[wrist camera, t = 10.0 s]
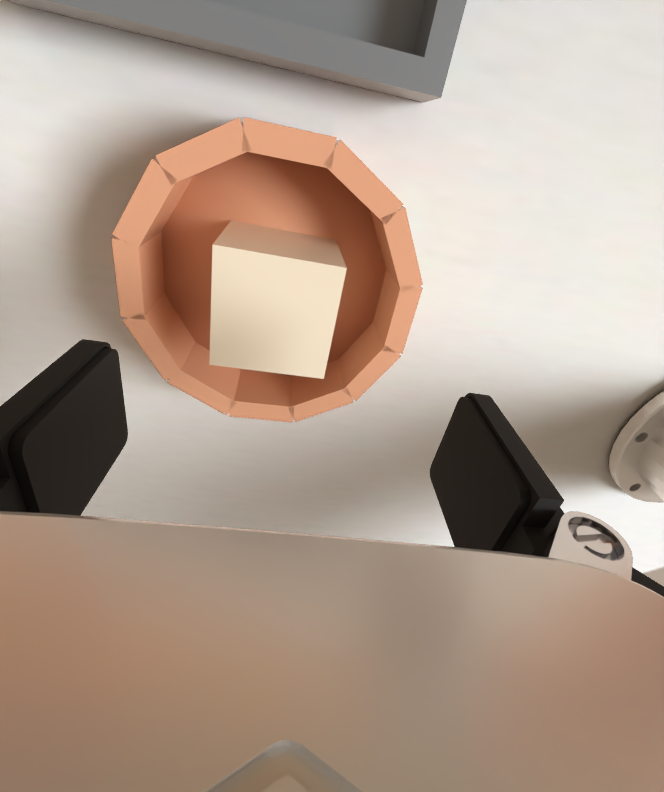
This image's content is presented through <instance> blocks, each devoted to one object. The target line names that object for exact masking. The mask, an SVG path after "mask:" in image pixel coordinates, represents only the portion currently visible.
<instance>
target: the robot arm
mask: <svg viewBox="0 0 664 792" xmlns="http://www.w3.org/2000/svg"><path fill="white" fill-rule="evenodd" d="M127 436H128V430H127V422H126V413H125V405H124V397H123V389H122V381H121V372H120V364H119V356H118V352H117V350H115V349H111V346H110V344H108V343H106V342H99V341H92V340H84V339H83V340H81V341H79V342H78V343H77V344H75V345H74V346H73V347H72V348H71V349H69V350H68V351H67V352H66V353H65V354H63V355H62V356H61V357H60V358H59V359H57V360H56V361H55V362H54V363H52V364H51V365H50V366H49V367H48V368H46V369H45V370H44V371H43V372H42V373H40V374H39V375H38V376H37V377H35V378H34V379H33V380H32V381H31V382H29V383H28V384H27V385H26V386H25V387H23V388H22V389H21V390H20V391H18V392H17V393H16V394H15V395H14V396H12V397H11V398H10V399H9V400H8V401H6V402H5V403H4V404H3V405H1V406H0V792H664V587H663V586H662V585H660V584H658V583H657V582H655V581H653V580H652V579H650V578H649V577H647V576H645V575H644V574H642V573H641V572H639V571H637V570H636V569H634V568H633V567H632V563H633V557H632V551H631V549H630V547H629V546H628V544H627V542H626V541H625V540H624V539H623V538H622V536H621V535H620V534H619V533H618V532H617V531H615V530H614V529H613V528H612V527H611V526H609V525H608V524H606V523H605V522H603V521H601V520H600V519H598V518H596V517H594V516H591V515H589V514H586V513H582V512H573V511H570V512H567V513H565V514H564V512H563V511H562V510H561V508H560V506H561V504H562V503H563V501H564V499H563V498H562V497H561V495H560V494H559V492H558V491H557V490H556V488H555V487H554V485H553V484H552V483H551V481H550V480H549V478H548V477H547V475H546V474H545V473H544V471H543V470H542V468H541V467H540V466H539V464H538V463H537V461H536V460H535V459H534V457H533V456H532V454H531V453H530V451H529V450H528V449H527V447H526V446H525V444H524V443H523V442H522V440H521V439H520V437H519V436H518V435H517V433H516V432H515V430H514V429H513V428H512V426H511V425H510V423H509V422H508V420H507V419H506V418H505V416H504V415H503V413H502V412H501V411H500V409H499V408H498V406H497V405H496V404H495V402H494V401H493V399H492V398H491V397H490V396H488V395H481V394H474V393H468V394H467V395H466V396H465V397H461V398H460V399H459V401H458V403H457V405H456V407H455V410H454V412H453V415H452V417H451V419H450V422H449V424H448V427H447V429H446V431H445V434H444V436H443V438H442V441H441V443H440V446H439V448H438V450H437V453H436V455H435V458H434V460H433V462H432V465H431V468H430V478H431V481H432V484H433V486H434V489H435V492H436V495H437V498H438V501H439V504H440V506H441V509H442V512H443V515H444V518H445V521H446V523H447V526H448V529H449V532H450V535H451V538H452V540H453V543H454V546H455V547H448V546H437V545H426V544H415V543H404V542H392V541H381V540H370V539H359V538H348V537H336V536H324V535H313V534H301V533H289V532H277V531H266V530H254V529H242V528H230V527H217V526H205V525H192V524H180V523H167V522H154V521H142V520H129V519H117V518H104V517H91V516H80V515H81V513H82V512H83V510H84V509H85V507H86V506H87V504H88V502H89V501H90V499H91V498H92V496H93V495H94V493H95V491H96V490H97V488H98V487H99V485H100V484H101V482H102V480H103V479H104V477H105V476H106V474H107V473H108V471H109V469H110V468H111V466H112V465H113V463H114V462H115V460H116V458H117V457H118V455H119V454H120V452H121V451H122V449H123V447H124V446H125V444H126V441H127ZM609 469H610V473H611V476H612V478H613V479H614V481H615V482H616V484H617V485H618V486H619V487H620V488H621V489H622V490H623V491H624V492H625V493H626V494H628V495H629V496H631V497H633V498H635V499H638V500H642V501H646V502H664V391H663V392H661V393H659V394H658V395H657V396H656V397H654V398H653V399H652V400H650V401H649V402H648V403H647V404H645V405H644V406H643V407H642V408H641V409H640V410H639V411H638V412H637V413H636V414H635V415H634V416H633V417H632V418H631V419H630V420H629V421H628V423H627V424H626V425H625V426H624V428H623V429H622V430H621V432H620V434H619V435H618V437H617V439H616V441H615V442H614V445H613V448H612V451H611V454H610V459H609Z"/></svg>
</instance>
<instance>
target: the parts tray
mask: <svg viewBox="0 0 664 792" xmlns="http://www.w3.org/2000/svg"><path fill="white" fill-rule="evenodd" d="M9 1H11V2H13V3H15V4H19V5H23V6H27V7H31V8H35V9H39V10H43V11H47V12H52V13H56V14H60V15H64V16H68V17H72V18H76V19H80V20H85V21H89V22H93V23H97V24H101V25H105V26H109V27H114V28H118V29H122V30H126V31H130V32H134V33H138V34H142V35H147V36H151V37H155V38H159V39H163V40H167V41H171V42H175V43H180V44H184V45H188V46H192V47H196V48H200V49H204V50H209V51H213V52H217V53H221V54H225V55H229V56H233V57H237V58H242V59H246V60H250V61H254V62H258V63H262V64H266V65H270V66H275V67H279V68H283V69H287V70H291V71H295V72H299V73H303V74H308V75H312V76H316V77H320V78H324V79H328V80H332V81H337V82H341V83H345V84H349V85H353V86H357V87H361V88H365V89H370V90H374V91H378V92H382V93H386V94H390V95H394V96H398V97H403V98H407V99H411V100H415V101H419V102H427V101H430V100H434V99H437V98H441V96H442V92H443V88H444V84H445V80H446V77H447V73H448V69H449V65H450V61H451V58H452V54H453V50H454V46H455V42H456V39H457V35H458V31H459V27H460V23H461V20H462V16H463V12H464V8H465V5H466V1H467V0H9Z"/></svg>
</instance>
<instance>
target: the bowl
mask: <svg viewBox="0 0 664 792" xmlns="http://www.w3.org/2000/svg"><path fill="white" fill-rule="evenodd" d="M155 156H156V158H154V159H151V161H150V163H149V165H148V167H147V169H146V171H145V172H144V174H143V176H142V178H141V180H140V182H139V184H138V186H137V188H136V190H135V191H134V193H133V195H132V197H131V199H130V201H129V203H128V205H127V207H126V209H125V211H124V212H123V214H122V216H121V218H120V220H119V222H118V224H117V226H116V228H115V230H114V231H113V233H112V234H113V235H114V236H115V237H113V238H111V240H112V248H113V257H114V265H115V274H116V283H117V291H118V300H119V308H120V317H125V318H124V319H123V320H122V321H123V323H124V324H125V326H126V327H127V328H128V330H129V331H130V332H131V334H132V335H133V337H134V338H135V339H136V341H137V342H138V344H139V345H140V346H141V348H142V349H143V351H144V352H145V353H146V355H147V356H148V358H149V359H150V360H151V362H152V363H153V365H154V366H155V367H156V369H157V370H158V372H159V373H160V374H161V376H162V377H163V379H164V380H166V379H169V380H168V382H167V383H169V384H171V385H173V386H175V387H176V388H178V389H180V390H182V391H183V392H185V393H187V394H189V395H191V396H192V397H194V398H196V399H198V400H200V401H201V402H203V403H205V404H207V405H209V406H210V407H212V408H214V409H216V410H217V411H219V412H221V413H223V414H225V415H227V414H228V412H229V411H230V414H229V416H231V417H242V418H252V419H263V420H273V421H283V422H292V420H293V418H294V420H295V422H297V421H300V420H303V419H306V418H309V417H311V416H314V415H317V414H320V413H323V412H326V411H329V410H332V409H335V408H338V407H341V406H344V405H347V404H350V403H353V399H354V400H357V399H358V398H359V397H360V396H361V395H362V394H363V393H364V392H365V391H366V390H367V389H368V388H369V387H370V386H371V385H372V384H373V383H374V382H375V381H376V380H377V379H378V378H379V377H380V376H381V375H382V374H383V373H385V372H386V371H387V370H388V369H389V368H390V367H391V366H392V365H393V364H394V363H395V362H396V361H397V360H398V359H399V358H400V357H401V356H400V354H399V353H403V350H404V347H405V344H406V340H407V337H408V334H409V331H410V327H411V324H412V321H413V318H414V314H415V311H416V308H417V305H418V301H419V298H420V295H421V292H422V287H421V286H420V285H422V284H423V283H422V279H421V275H420V270H419V266H418V262H417V257H416V253H415V248H414V244H413V240H412V235H411V231H410V227H409V222H408V218H407V213H406V209H405V208H404V207H403V206H402V205H403V203H402V202H401V201H400V200H399V199H398V198H397V197H396V196H395V195H394V194H393V193H392V192H391V191H390V190H389V189H388V188H387V187H386V186H385V185H384V184H383V183H382V182H381V181H380V180H379V179H378V178H377V177H376V176H375V175H374V174H373V173H372V172H371V170H370V169H369V168H368V167H367V166H366V165H365V164H364V163H363V162H362V161H361V160H360V159H359V158H358V157H357V156H356V155H355V154H354V153H353V152H352V151H351V150H350V149H349V148H348V147H347V146H346V145H345V144H344V143H343V142H342V141H341V140H336V137H332V136H327V135H323V134H318V133H314V132H309V131H304V130H300V129H295V128H291V127H286V126H282V125H277V124H272V123H268V122H263V121H259V120H254V119H250V118H245V117H244V120H243V119H241V118H237V119H235V120H233V121H230V122H228V123H226V124H224V125H221V126H219V127H217V128H215V129H213V130H210V131H208V132H206V133H204V134H202V135H199V136H197V137H195V138H193V139H191V140H188V141H186V142H184V143H182V144H180V145H177V146H175V147H173V148H171V149H168V150H166V151H164V152H162V153H160V154H157V155H155ZM231 220H232V221H238V222H243V223H248V224H254V225H259V226H264V227H270V228H275V229H280V230H286V231H291V232H296V233H302V234H307V235H313V236H318V237H323V238H329V239H334V240H336V242H337V244H338V247H339V249H340V252H341V254H342V257H343V259H344V262H345V264H346V267H347V270H346V275H345V280H344V284H343V289H342V294H341V299H340V304H339V308H338V313H337V318H336V323H335V328H334V333H333V337H332V342H331V347H330V352H329V357H328V361H327V366H326V371H325V376H324V379H320V378H312V377H304V376H296V375H288V374H280V373H272V372H264V371H256V370H248V369H240V368H232V367H224V366H216V365H209V361H210V322H211V283H212V244H213V243H214V242H215V241H216V239H217V238H218V237H219V235H220V234H221V233H222V232H223V230H224V229H225V228H226V226H227V225H228V224H229V223H230V221H231ZM352 398H353V399H352Z"/></svg>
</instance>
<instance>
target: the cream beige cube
mask: <svg viewBox="0 0 664 792" xmlns="http://www.w3.org/2000/svg"><path fill="white" fill-rule="evenodd" d="M346 270H347V267H346V264H345V262H344V259H343V257H342V254H341V252H340V249H339V247H338V244H337V242H336V240H334V239H329V238H323V237H318V236H313V235H307V234H302V233H296V232H291V231H286V230H280V229H275V228H270V227H264V226H259V225H254V224H248V223H243V222H238V221H232V220H231V221H230V223H229V224H228V225H227V226H226V228H225V229H224V230H223V232H222V233H221V234H220V235H219V237H218V238H217V239H216V241H215V242H214V243H213V244H212V283H211V322H210V361H209V365H216V366H224V367H232V368H240V369H248V370H256V371H264V372H272V373H280V374H288V375H296V376H304V377H312V378H320V379H324V376H325V371H326V366H327V361H328V357H329V352H330V347H331V342H332V337H333V333H334V328H335V323H336V318H337V313H338V308H339V304H340V299H341V294H342V289H343V284H344V280H345V275H346Z"/></svg>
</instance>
